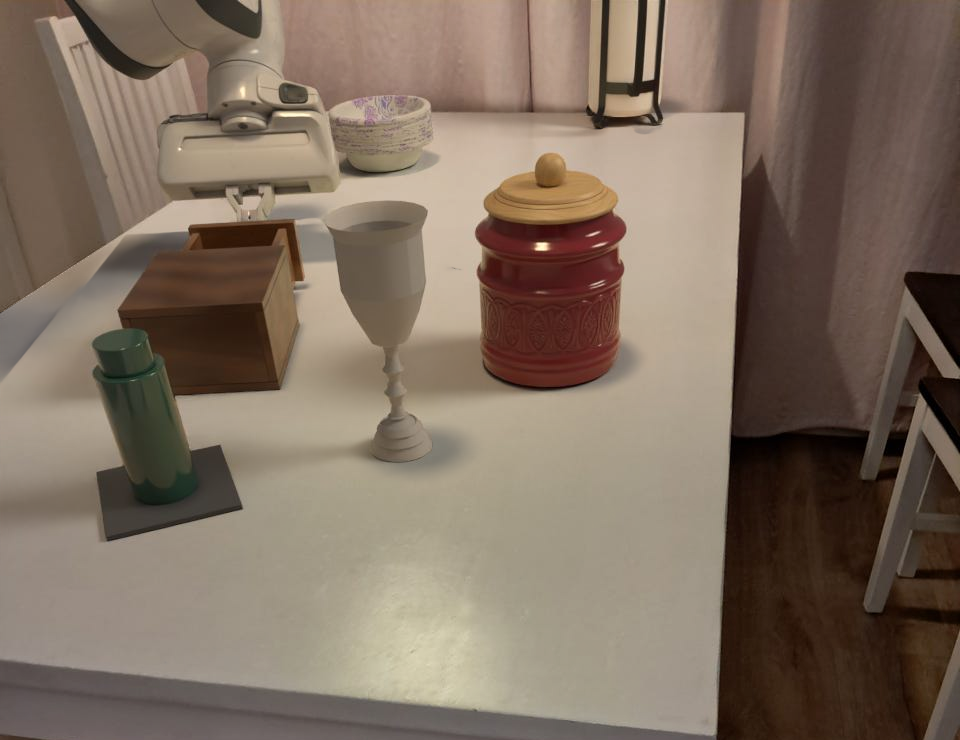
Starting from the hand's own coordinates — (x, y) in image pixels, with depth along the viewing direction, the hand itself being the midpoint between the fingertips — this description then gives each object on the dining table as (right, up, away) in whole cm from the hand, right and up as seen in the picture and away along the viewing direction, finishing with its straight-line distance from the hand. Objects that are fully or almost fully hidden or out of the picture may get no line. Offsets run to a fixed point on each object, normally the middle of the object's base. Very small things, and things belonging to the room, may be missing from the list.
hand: (251, 229), depth 104 cm
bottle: (+1, -34, -32) cm, 47 cm away
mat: (+1, -35, -32) cm, 47 cm away
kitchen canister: (+32, -20, -17) cm, 42 cm away
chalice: (+19, -31, -28) cm, 46 cm away
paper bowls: (+11, +26, +37) cm, 46 cm away
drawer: (+1, -9, -4) cm, 10 cm away
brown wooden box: (+1, -19, -14) cm, 23 cm away
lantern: (+50, +40, +50) cm, 81 cm away
